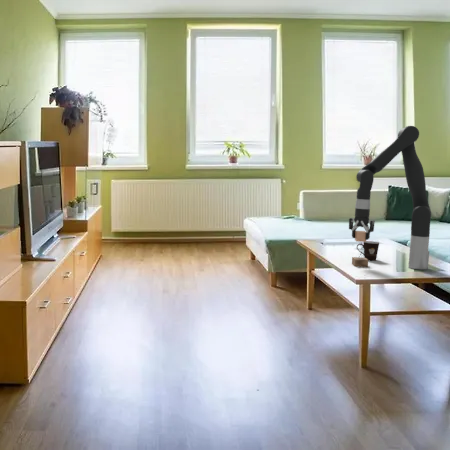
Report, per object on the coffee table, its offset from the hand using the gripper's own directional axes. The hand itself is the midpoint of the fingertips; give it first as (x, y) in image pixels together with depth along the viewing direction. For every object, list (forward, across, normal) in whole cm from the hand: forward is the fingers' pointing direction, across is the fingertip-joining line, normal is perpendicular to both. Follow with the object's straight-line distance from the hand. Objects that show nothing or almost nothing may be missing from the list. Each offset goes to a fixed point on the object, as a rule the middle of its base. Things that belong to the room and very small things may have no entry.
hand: (360, 238), depth 294 cm
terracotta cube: (+1, 0, 0) cm, 1 cm away
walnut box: (+15, -1, 0) cm, 15 cm away
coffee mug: (+15, +6, -22) cm, 27 cm away
